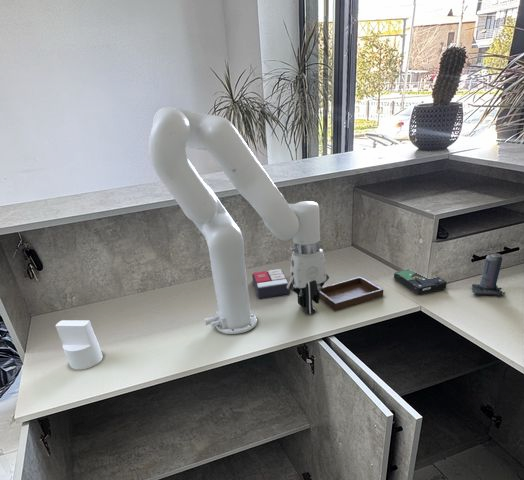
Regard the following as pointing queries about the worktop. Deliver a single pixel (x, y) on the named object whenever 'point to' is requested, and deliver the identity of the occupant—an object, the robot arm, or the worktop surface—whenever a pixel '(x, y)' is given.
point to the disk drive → (419, 282)
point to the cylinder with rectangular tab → (79, 343)
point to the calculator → (270, 283)
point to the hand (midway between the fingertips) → (308, 303)
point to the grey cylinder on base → (489, 277)
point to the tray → (349, 293)
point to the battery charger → (310, 296)
